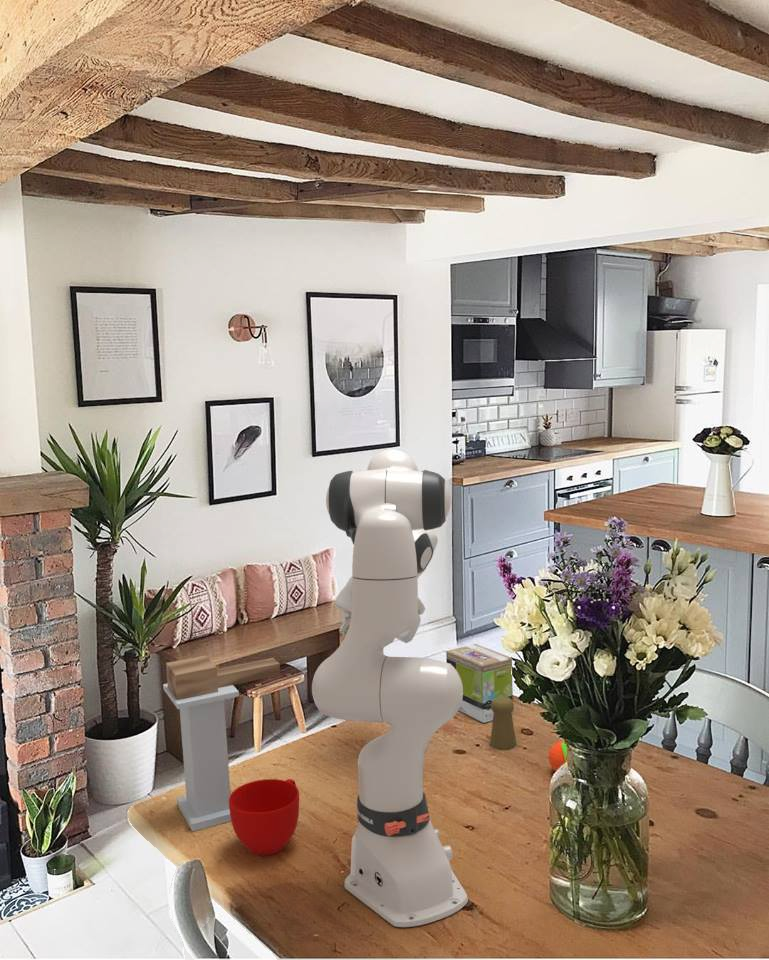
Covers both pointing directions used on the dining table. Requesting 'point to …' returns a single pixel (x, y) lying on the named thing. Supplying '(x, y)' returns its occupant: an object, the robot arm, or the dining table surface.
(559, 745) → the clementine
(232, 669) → the handled block
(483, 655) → the tea box
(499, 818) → the dining table surface
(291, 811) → the ceramic cup
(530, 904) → the dining table surface
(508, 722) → the brown pawn
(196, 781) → the painted stand
